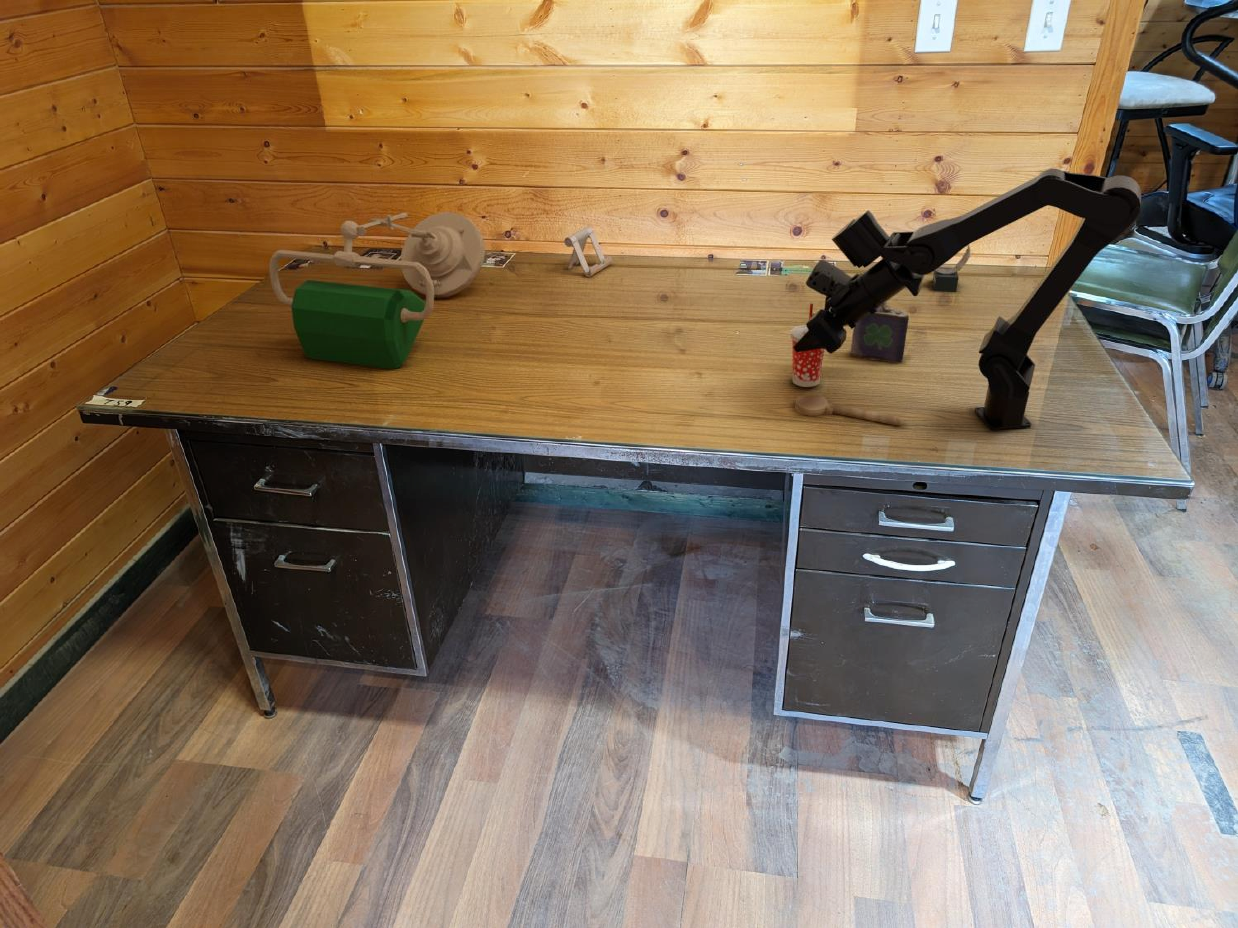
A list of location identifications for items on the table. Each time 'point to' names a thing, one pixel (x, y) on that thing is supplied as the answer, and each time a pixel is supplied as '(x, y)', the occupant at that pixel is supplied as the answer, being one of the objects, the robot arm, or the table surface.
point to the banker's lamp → (382, 291)
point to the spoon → (839, 410)
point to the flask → (881, 335)
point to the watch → (949, 275)
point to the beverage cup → (805, 359)
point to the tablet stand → (578, 244)
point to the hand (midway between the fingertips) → (800, 342)
